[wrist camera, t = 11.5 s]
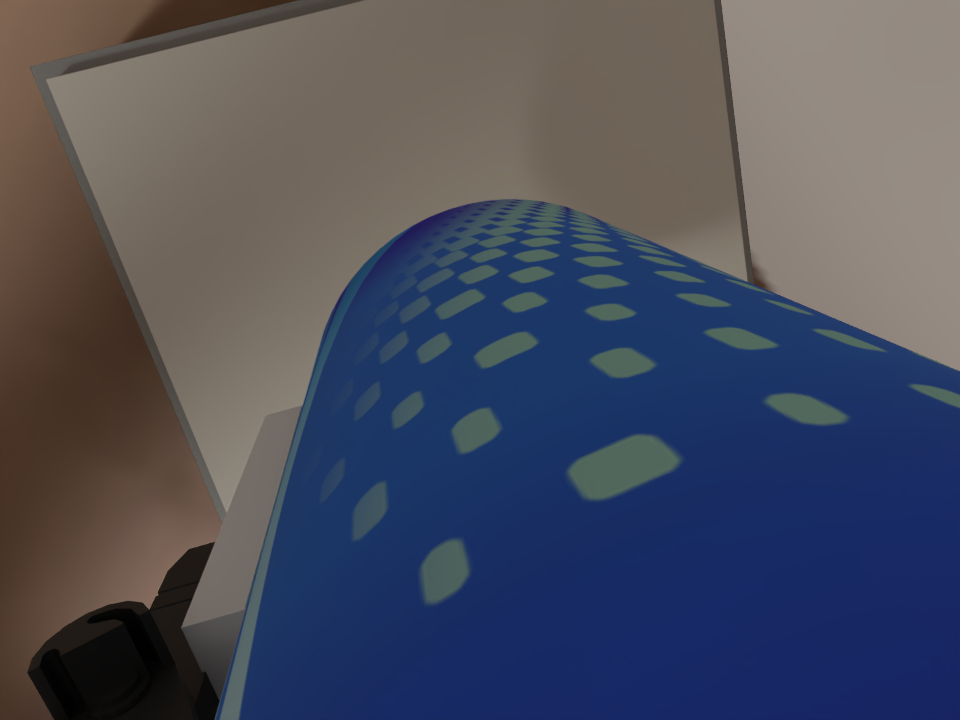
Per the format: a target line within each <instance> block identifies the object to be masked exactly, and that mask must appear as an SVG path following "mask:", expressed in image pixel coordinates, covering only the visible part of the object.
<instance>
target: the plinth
mask: <svg viewBox="0 0 960 720" xmlns="http://www.w3.org/2000/svg"><path fill="white" fill-rule="evenodd" d="M30 69H31V71H32V73H33V76H34V78H35V81H36V83H37V85H38V88H39V90H40V92H41V95H42V97H43V100H44V102H45V104H46V107H47V109H48V111H49V114H50V116H51V118H52V121H53V123H54V126H55V128H56V130H57V133H58V135H59V137H60V140H61V142H62V145H63V147H64V149H65V152H66V154H67V156H68V159H69V161H70V164H71V166H72V168H73V171H74V173H75V175H76V178H77V180H78V183H79V185H80V187H81V190H82V192H83V194H84V197H85V199H86V202H87V204H88V206H89V209H90V211H91V213H92V216H93V218H94V221H95V223H96V225H97V228H98V230H99V232H100V235H101V237H102V240H103V242H104V244H105V247H106V249H107V251H108V254H109V256H110V259H111V261H112V263H113V266H114V268H115V270H116V273H117V275H118V278H119V280H120V282H121V285H122V287H123V289H124V292H125V294H126V297H127V299H128V301H129V304H130V306H131V308H132V311H133V313H134V316H135V318H136V320H137V323H138V325H139V327H140V330H141V332H142V334H143V337H144V339H145V342H146V344H147V346H148V349H149V351H150V353H151V356H152V358H153V361H154V363H155V365H156V368H157V370H158V372H159V375H160V377H161V380H162V382H163V384H164V387H165V389H166V391H167V394H168V396H169V399H170V401H171V403H172V406H173V408H174V410H175V413H176V415H177V418H178V420H179V422H180V425H181V427H182V429H183V432H184V434H185V437H186V439H187V441H188V444H189V446H190V448H191V451H192V453H193V456H194V458H195V460H196V463H197V465H198V467H199V470H200V472H201V475H202V477H203V479H204V482H205V484H206V486H207V489H208V491H209V494H210V496H211V498H212V501H213V503H214V505H215V508H216V510H217V513H218V515H219V517H220V520H221V522H222V524H223V521H224V519H225V516H226V514H227V511H228V509H229V506H230V504H231V501H232V499H233V496H234V494H235V491H236V489H237V486H238V484H239V481H240V479H241V476H242V474H243V471H244V468H245V466H246V463H247V461H248V458H249V456H250V453H251V451H252V448H253V446H254V443H255V441H256V438H257V436H258V433H259V431H260V428H261V426H262V423H263V421H264V418H265V416H266V415H269V414H273V413H276V412H280V411H283V410H287V409H291V408H294V407H298V406H303V403H304V399H305V396H306V392H307V388H308V385H309V381H310V378H311V374H312V371H313V367H314V363H315V360H316V356H317V353H318V349H319V346H320V342H321V339H322V335H323V332H324V329H325V327H326V324H327V322H328V319H329V317H330V314H331V312H332V310H333V308H334V306H335V305H336V303H337V301H338V299H339V297H340V295H341V294H342V292H343V291H344V289H345V288H346V286H347V285H348V283H349V282H350V280H351V279H352V278H353V277H354V275H355V274H356V273H357V272H358V271H359V269H360V268H361V267H362V266H363V265H364V263H366V262H367V261H368V260H369V259H370V258H371V257H372V256H373V255H374V254H375V253H376V252H377V251H378V250H379V249H380V248H381V247H383V246H384V245H385V244H386V243H388V242H389V241H390V240H391V239H393V238H394V237H395V236H397V235H398V234H400V233H402V232H403V231H405V230H406V229H408V228H409V227H411V226H413V225H415V224H417V223H419V222H421V221H422V220H424V219H426V218H428V217H431V216H433V215H436V214H438V213H441V212H443V211H446V210H448V209H452V208H455V207H459V206H463V205H466V204H471V203H476V202H482V201H488V200H501V199H524V200H534V201H542V202H548V203H553V204H557V205H561V206H565V207H568V208H571V209H574V210H577V211H580V212H582V213H585V214H587V215H590V216H592V217H595V218H597V219H599V220H602V221H604V222H606V223H609V224H611V225H614V226H616V227H618V228H621V229H623V230H625V231H628V232H630V233H633V234H635V235H637V236H640V237H642V238H644V239H647V240H649V241H652V242H654V243H656V244H659V245H661V246H663V247H666V248H668V249H671V250H673V251H675V252H678V253H680V254H682V255H685V256H687V257H690V258H692V259H694V260H697V261H699V262H701V263H704V264H706V265H709V266H711V267H713V268H716V269H718V270H720V271H723V272H725V273H728V274H730V275H732V276H735V277H737V278H739V279H742V280H744V281H747V282H749V283H751V284H754V279H753V271H752V262H751V254H750V245H749V237H748V229H747V220H746V211H745V202H744V194H743V185H742V178H741V168H740V160H739V152H738V143H737V134H736V126H735V118H734V109H733V100H732V91H731V83H730V75H729V66H728V57H727V50H726V40H725V32H724V23H723V15H722V6H721V0H297V1H293V2H289V3H285V4H281V5H277V6H273V7H269V8H265V9H261V10H257V11H253V12H249V13H245V14H241V15H237V16H232V17H228V18H224V19H220V20H216V21H212V22H208V23H204V24H200V25H196V26H192V27H188V28H184V29H180V30H176V31H172V32H168V33H164V34H160V35H156V36H152V37H148V38H144V39H140V40H136V41H131V42H127V43H123V44H119V45H115V46H111V47H107V48H103V49H99V50H95V51H91V52H87V53H83V54H79V55H75V56H71V57H67V58H63V59H59V60H55V61H51V62H47V63H43V64H39V65H35V66H31V67H30Z"/></svg>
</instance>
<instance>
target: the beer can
mask: <svg viewBox="0 0 960 720" xmlns="http://www.w3.org/2000/svg"><path fill="white" fill-rule="evenodd" d="M215 720H960V371H958V370H956V369H953V368H951V367H948V366H946V365H944V364H941V363H939V362H937V361H934V360H932V359H929V358H927V357H925V356H922V355H920V354H918V353H915V352H913V351H910V350H908V349H906V348H903V347H901V346H899V345H896V344H894V343H891V342H889V341H887V340H884V339H882V338H879V337H877V336H875V335H872V334H870V333H868V332H865V331H863V330H860V329H858V328H856V327H853V326H851V325H849V324H846V323H844V322H842V321H839V320H837V319H834V318H832V317H829V316H827V315H825V314H822V313H820V312H818V311H815V310H813V309H811V308H808V307H806V306H803V305H801V304H799V303H796V302H794V301H792V300H789V299H787V298H785V297H782V296H780V295H777V294H775V293H773V292H770V291H768V290H766V289H763V288H761V287H758V286H756V285H754V284H751V283H749V282H747V281H744V280H742V279H739V278H737V277H735V276H732V275H730V274H728V273H725V272H723V271H720V270H718V269H716V268H713V267H711V266H709V265H706V264H704V263H701V262H699V261H697V260H694V259H692V258H690V257H687V256H685V255H682V254H680V253H678V252H675V251H673V250H671V249H668V248H666V247H663V246H661V245H659V244H656V243H654V242H652V241H649V240H647V239H644V238H642V237H640V236H637V235H635V234H633V233H630V232H628V231H625V230H623V229H621V228H618V227H616V226H614V225H611V224H609V223H606V222H604V221H602V220H599V219H597V218H595V217H592V216H590V215H587V214H585V213H582V212H580V211H577V210H574V209H571V208H568V207H565V206H561V205H557V204H553V203H548V202H542V201H534V200H524V199H501V200H488V201H482V202H476V203H471V204H466V205H463V206H459V207H455V208H452V209H448V210H446V211H443V212H441V213H438V214H436V215H433V216H431V217H428V218H426V219H424V220H422V221H421V222H419V223H417V224H415V225H413V226H411V227H409V228H408V229H406V230H405V231H403V232H402V233H400V234H398V235H397V236H395V237H394V238H393V239H391V240H390V241H389V242H388V243H386V244H385V245H384V246H383V247H381V248H380V249H379V250H378V251H377V252H376V253H375V254H374V255H373V256H372V257H371V258H370V259H369V260H368V261H367V262H366V263H364V265H363V266H362V267H361V268H360V269H359V271H358V272H357V273H356V274H355V275H354V277H353V278H352V279H351V280H350V282H349V283H348V285H347V286H346V288H345V289H344V291H343V292H342V294H341V295H340V297H339V299H338V301H337V303H336V305H335V306H334V308H333V310H332V312H331V314H330V317H329V319H328V322H327V324H326V327H325V329H324V332H323V335H322V339H321V342H320V346H319V349H318V353H317V356H316V360H315V363H314V367H313V371H312V374H311V378H310V381H309V385H308V388H307V392H306V396H305V399H304V403H303V406H302V410H301V413H300V417H299V421H298V424H297V428H296V431H295V435H294V438H293V442H292V445H291V449H290V453H289V456H288V460H287V463H286V467H285V470H284V474H283V478H282V481H281V485H280V488H279V492H278V495H277V499H276V503H275V506H274V510H273V513H272V517H271V520H270V524H269V528H268V531H267V535H266V538H265V542H264V545H263V549H262V552H261V556H260V560H259V563H258V567H257V570H256V574H255V577H254V581H253V585H252V588H251V592H250V595H249V599H248V602H247V606H246V610H245V613H244V617H243V620H242V624H241V627H240V631H239V635H238V638H237V642H236V645H235V649H234V652H233V656H232V660H231V663H230V667H229V670H228V674H227V677H226V681H225V684H224V688H223V692H222V695H221V699H220V702H219V706H218V709H217V713H216V717H215Z"/></svg>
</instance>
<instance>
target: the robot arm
mask: <svg viewBox="0 0 960 720" xmlns="http://www.w3.org/2000/svg"><path fill="white" fill-rule="evenodd" d="M301 410H302V406H298V407H294V408H291V409H287V410H283V411H280V412H276V413H273V414H269V415H266V416H265V418H264V421H263V423H262V426H261V428H260V431H259V433H258V436H257V438H256V441H255V443H254V446H253V448H252V451H251V453H250V456H249V458H248V461H247V463H246V466H245V468H244V471H243V474H242V476H241V479H240V481H239V484H238V486H237V489H236V491H235V494H234V496H233V499H232V501H231V504H230V506H229V509H228V511H227V514H226V516H225V519H224V521H223V524H222V526H221V529H220V531H219V534H218V536H217V539H216V541H215V542H213V543H209V544H206V545H202V546H199V547H195V548H191V549H189V550H188V551H187V552H186V553H185V554H184V555H183V556H182V557H181V558H180V559H179V560H178V561H177V562H176V563H175V564H174V565H173V566H172V567H171V568H170V569H169V570H168V572H167V574H166V576H165V578H164V580H163V582H162V585H161V587H160V589H159V591H158V596H156V597H155V599H154V601H153V603H152V605H151V608H150V610H149V609H148V608H147V607H146V606H145V605H144V604H143V603H141V602H133V601H125V602H120V603H115V604H110V605H107V606H104V607H102V608H99V609H97V610H94V611H92V612H89V613H87V614H85V615H84V616H82V617H80V618H78V619H77V620H75V621H73V622H72V623H70V624H68V625H67V626H65V627H64V628H62V629H61V630H60V631H59V632H57V633H56V634H55V635H54V636H53V637H51V638H50V639H49V640H48V641H46V642H45V643H44V645H43V646H42V647H41V648H40V650H39V651H38V652H37V653H36V654H35V656H34V657H33V658H32V661H31V663H30V666H29V669H28V672H27V673H28V675H29V676H30V678H31V680H32V682H33V683H34V685H35V687H36V689H37V690H38V692H39V694H40V695H41V697H42V699H43V701H44V702H45V704H46V706H47V708H48V709H49V711H50V713H51V715H52V716H53V718H54V720H215V717H216V713H217V709H218V706H219V702H220V699H221V695H222V692H223V688H224V684H225V681H226V677H227V674H228V670H229V667H230V663H231V660H232V656H233V652H234V649H235V645H236V642H237V638H238V635H239V631H240V627H241V624H242V620H243V617H244V613H245V610H246V606H247V602H248V599H249V595H250V592H251V588H252V585H253V581H254V577H255V574H256V570H257V567H258V563H259V560H260V556H261V552H262V549H263V545H264V542H265V538H266V535H267V531H268V528H269V524H270V520H271V517H272V513H273V510H274V506H275V503H276V499H277V495H278V492H279V488H280V485H281V481H282V478H283V474H284V470H285V467H286V463H287V460H288V456H289V453H290V449H291V445H292V442H293V438H294V435H295V431H296V428H297V424H298V421H299V417H300V413H301Z"/></svg>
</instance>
